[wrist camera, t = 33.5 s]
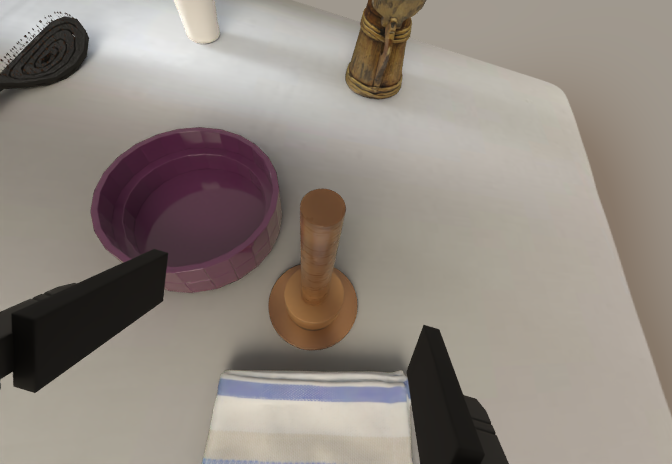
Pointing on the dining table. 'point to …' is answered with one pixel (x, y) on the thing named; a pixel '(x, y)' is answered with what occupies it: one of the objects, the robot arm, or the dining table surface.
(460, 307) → the dining table surface
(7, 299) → the dining table surface
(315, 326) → the dish brush
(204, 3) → the white tumbler
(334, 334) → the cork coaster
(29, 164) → the dining table surface
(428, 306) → the dining table surface
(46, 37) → the hairbrush
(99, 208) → the bowl
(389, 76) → the wooden mug
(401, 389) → the dish towel
